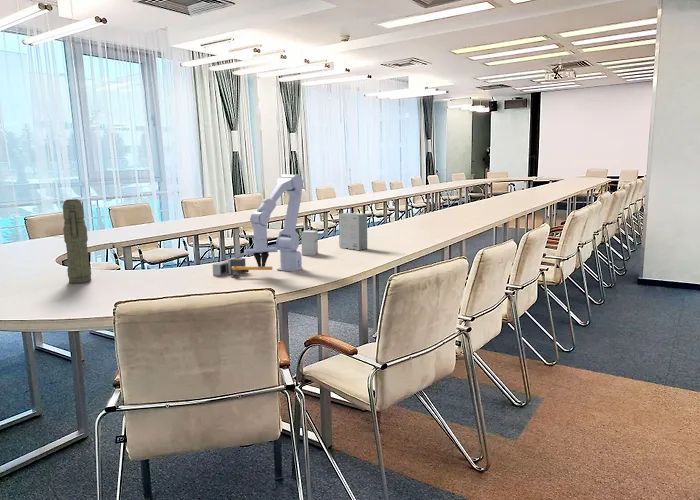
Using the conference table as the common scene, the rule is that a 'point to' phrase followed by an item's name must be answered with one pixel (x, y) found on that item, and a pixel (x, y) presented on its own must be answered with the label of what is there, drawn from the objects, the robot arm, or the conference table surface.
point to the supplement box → (309, 242)
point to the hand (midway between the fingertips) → (261, 269)
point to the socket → (220, 268)
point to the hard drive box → (353, 231)
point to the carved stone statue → (76, 242)
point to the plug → (236, 262)
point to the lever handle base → (235, 274)
